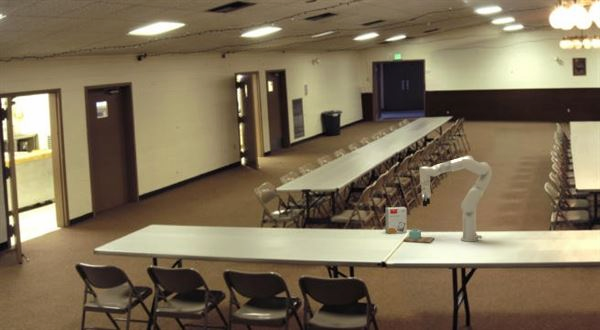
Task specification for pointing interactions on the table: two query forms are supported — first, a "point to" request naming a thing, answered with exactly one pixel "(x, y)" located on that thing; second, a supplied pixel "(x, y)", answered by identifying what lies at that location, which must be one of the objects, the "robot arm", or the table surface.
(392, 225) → the hard drive box
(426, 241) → the base board
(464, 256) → the table surface
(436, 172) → the robot arm
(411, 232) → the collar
